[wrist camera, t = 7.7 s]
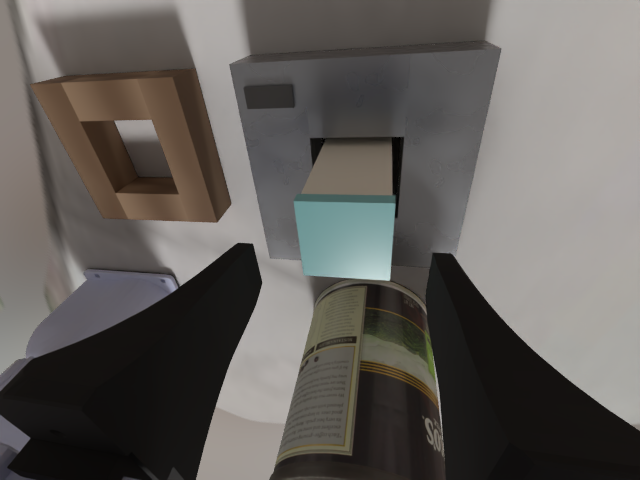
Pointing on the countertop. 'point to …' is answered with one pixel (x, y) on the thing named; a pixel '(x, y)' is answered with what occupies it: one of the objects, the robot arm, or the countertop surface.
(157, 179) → the wooden square frame
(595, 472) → the robot arm
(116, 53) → the countertop surface
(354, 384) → the coffee can
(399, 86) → the port panel
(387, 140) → the plug
